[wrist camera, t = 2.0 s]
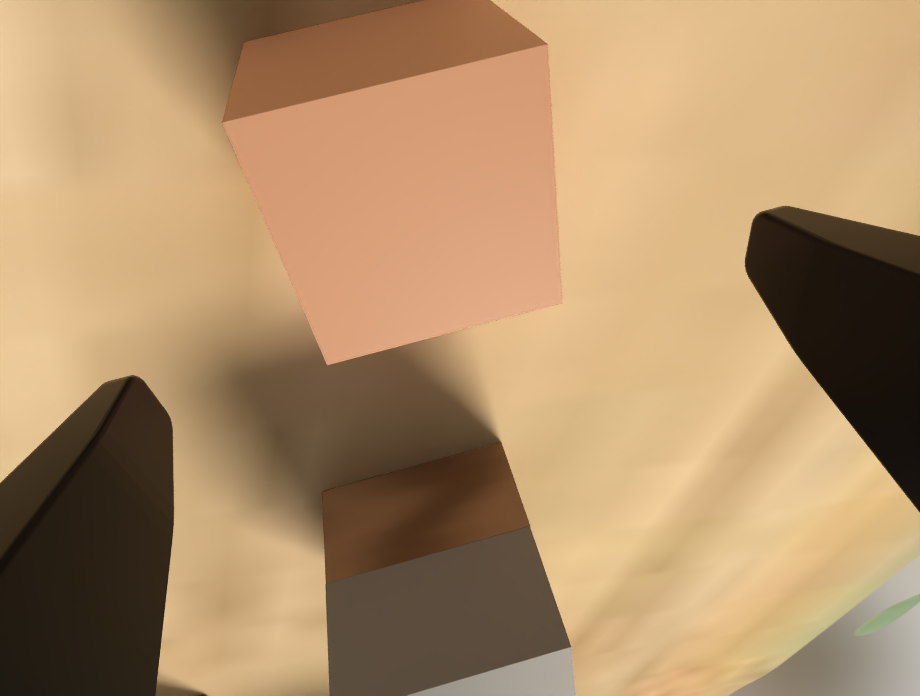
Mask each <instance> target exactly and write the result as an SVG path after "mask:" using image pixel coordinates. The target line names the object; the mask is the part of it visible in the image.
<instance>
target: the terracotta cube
mask: <svg viewBox="0 0 920 696" xmlns="http://www.w3.org/2000/svg"><path fill="white" fill-rule="evenodd" d="M222 124H223V126H224V128H225V131H226V133H227V135H228V138H229V140H230V142H231V144H232V147H233V149H234V151H235V154H236V156H237V158H238V161H239V163H240V165H241V168H242V170H243V172H244V174H245V177H246V179H247V181H248V184H249V186H250V188H251V191H252V193H253V195H254V198H255V200H256V202H257V204H258V207H259V209H260V211H261V214H262V216H263V218H264V221H265V223H266V225H267V228H268V230H269V232H270V234H271V237H272V239H273V241H274V244H275V246H276V248H277V251H278V253H279V255H280V258H281V260H282V262H283V264H284V267H285V269H286V271H287V274H288V276H289V278H290V281H291V283H292V285H293V288H294V290H295V292H296V295H297V297H298V299H299V301H300V304H301V306H302V308H303V311H304V313H305V315H306V318H307V320H308V322H309V325H310V327H311V329H312V331H313V334H314V336H315V338H316V341H317V343H318V345H319V348H320V350H321V352H322V355H323V357H324V359H325V361H326V364H327V365H330V364H334V363H338V362H342V361H346V360H349V359H353V358H357V357H361V356H364V355H368V354H372V353H376V352H379V351H383V350H387V349H391V348H395V347H398V346H402V345H406V344H410V343H413V342H417V341H421V340H425V339H429V338H432V337H436V336H440V335H444V334H447V333H451V332H455V331H459V330H462V329H466V328H470V327H474V326H478V325H481V324H485V323H489V322H493V321H496V320H500V319H504V318H508V317H512V316H515V315H519V314H523V313H527V312H530V311H534V310H538V309H542V308H546V307H549V306H553V305H557V304H561V303H563V302H562V285H561V268H560V250H559V233H558V215H557V198H556V180H555V163H554V145H553V128H552V110H551V93H550V75H549V58H548V44H547V43H546V42H544V41H543V40H542V39H540V38H539V37H538V36H536V35H535V34H534V33H532V32H531V31H530V30H529V29H527V28H526V27H525V26H523V25H522V24H521V23H519V22H518V21H517V20H515V19H514V18H513V17H511V16H510V15H509V14H508V13H506V12H505V11H504V10H502V9H501V8H500V7H498V6H497V5H496V4H494V3H493V2H492V1H490V0H422V1H418V2H413V3H409V4H405V5H401V6H396V7H392V8H388V9H383V10H379V11H375V12H371V13H366V14H362V15H358V16H354V17H349V18H345V19H341V20H336V21H332V22H328V23H324V24H319V25H315V26H311V27H307V28H302V29H298V30H294V31H289V32H285V33H281V34H277V35H272V36H268V37H264V38H260V39H255V40H251V41H247V42H244V45H243V48H242V52H241V56H240V59H239V63H238V66H237V70H236V74H235V77H234V81H233V85H232V88H231V92H230V95H229V99H228V103H227V106H226V110H225V114H224V117H223V121H222Z"/></svg>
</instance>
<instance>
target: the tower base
mask: <svg viewBox="0 0 920 696" xmlns="http://www.w3.org/2000/svg"><path fill="white" fill-rule="evenodd" d="M322 499H323V524H324V549H325V574H326V584H327V583H331V582H335V581H338V580H342V579H345V578H349V577H352V576H356V575H359V574H363V573H366V572H370V571H373V570H377V569H380V568H384V567H387V566H391V565H394V564H398V563H401V562H405V561H408V560H412V559H415V558H419V557H423V556H426V555H430V554H433V553H437V552H440V551H444V550H447V549H451V548H454V547H458V546H461V545H465V544H468V543H472V542H475V541H479V540H482V539H486V538H489V537H493V536H497V535H500V534H504V533H507V532H511V531H514V530H518V529H521V528H525V527H528V526H530V524H529V521H528V518H527V515H526V512H525V510H524V507H523V504H522V501H521V498H520V495H519V492H518V489H517V486H516V483H515V481H514V478H513V475H512V472H511V469H510V466H509V463H508V460H507V457H506V455H505V452H504V449H503V446H502V443H501V442H499V443H496V444H492V445H489V446H485V447H481V448H478V449H474V450H470V451H467V452H463V453H460V454H456V455H452V456H449V457H445V458H442V459H438V460H434V461H431V462H427V463H424V464H420V465H416V466H413V467H409V468H406V469H402V470H398V471H395V472H391V473H388V474H384V475H380V476H377V477H373V478H370V479H366V480H362V481H359V482H355V483H351V484H348V485H344V486H341V487H337V488H333V489H330V490H326V491H323V492H322ZM530 529H531V528H530Z"/></svg>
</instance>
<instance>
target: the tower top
mask: <svg viewBox="0 0 920 696" xmlns="http://www.w3.org/2000/svg"><path fill="white" fill-rule="evenodd" d="M326 610H327V636H328V661H329V687H330V696H575V684H574V673H573V662H572V650H571V645H570V642H569V639H568V636H567V633H566V630H565V627H564V625H563V622H562V619H561V616H560V613H559V610H558V607H557V604H556V601H555V598H554V595H553V593H552V590H551V587H550V584H549V581H548V578H547V575H546V572H545V569H544V566H543V563H542V561H541V558H540V555H539V552H538V549H537V546H536V543H535V540H534V537H533V534H532V532H531V529H530V526H528V527H525V528H521V529H518V530H514V531H511V532H507V533H504V534H500V535H497V536H493V537H489V538H486V539H482V540H479V541H475V542H472V543H468V544H465V545H461V546H458V547H454V548H451V549H447V550H444V551H440V552H437V553H433V554H430V555H426V556H423V557H419V558H415V559H412V560H408V561H405V562H401V563H398V564H394V565H391V566H387V567H384V568H380V569H377V570H373V571H370V572H366V573H363V574H359V575H356V576H352V577H349V578H345V579H342V580H338V581H335V582H331V583H327V584H326Z"/></svg>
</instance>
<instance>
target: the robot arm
mask: <svg viewBox="0 0 920 696" xmlns="http://www.w3.org/2000/svg"><path fill="white" fill-rule="evenodd" d="M745 268H746V272H747V275H748V277H749V279H750V280H751V282H752V284H753V285H754V287H755V289H756V290H757V292H758V293H759V295H760V297H761V298H762V300H763V302H764V303H765V305H766V307H767V308H768V310H769V311H770V313H771V315H772V316H773V318H774V320H775V321H776V323H777V325H778V326H779V328H780V329H781V331H782V333H783V334H784V336H785V338H786V339H787V341H788V342H789V344H790V345H791V347H792V348H793V350H794V352H795V353H796V354H797V356H798V357H799V359H800V360H801V361H802V363H803V364H804V365H805V367H806V368H807V369H808V371H809V372H810V373H811V374H812V376H813V377H814V378H815V379H816V381H817V382H818V383H819V385H820V386H821V387H822V388H823V390H824V391H825V392H826V394H827V395H828V396H829V397H830V399H831V400H832V401H833V402H834V404H835V405H836V406H837V408H838V409H839V410H840V411H841V413H842V414H843V415H844V416H845V418H846V419H847V420H848V422H849V423H850V424H851V425H852V427H853V428H854V429H855V431H856V432H857V433H858V434H859V436H860V437H861V438H862V439H863V441H864V442H865V443H866V445H867V446H868V447H869V448H870V450H871V451H872V452H873V454H874V455H875V456H876V457H877V459H878V460H879V461H880V462H881V464H882V465H883V466H884V468H885V469H886V470H887V471H888V473H889V474H890V475H891V476H892V478H893V479H894V480H895V482H896V483H897V484H898V485H899V487H900V488H901V489H902V491H903V492H904V493H905V494H906V496H907V497H908V498H909V499H910V501H911V502H912V503H913V505H914V506H915V507H916V508H917V510H918V511H919V512H920V236H917V235H913V234H909V233H904V232H900V231H896V230H891V229H887V228H882V227H878V226H874V225H869V224H865V223H861V222H856V221H852V220H847V219H843V218H839V217H834V216H830V215H826V214H821V213H817V212H813V211H808V210H804V209H799V208H795V207H791V206H781V207H777V208H773V209H769V210H766V211H762V212H760V213H758V214H757V215H756V216H755V218H754V219H753V222H752V226H751V231H750V236H749V241H748V247H747V252H746V257H745ZM173 525H174V482H173V428H172V422H171V419H170V417H169V415H168V413H167V411H166V410H165V409H164V407H163V406H162V405H161V403H160V402H159V401H158V399H157V398H156V397H155V395H154V394H153V392H152V391H151V390H150V388H149V387H148V386H147V384H146V383H145V382H144V381H143V380H142V379H141V378H140V377H138V376H134V375H130V376H127V377H123V378H119V379H115V380H111V381H108V382H106V383H104V384H102V385H101V386H100V387H99V388H98V389H97V390H96V391H95V392H94V393H93V394H92V395H91V396H90V397H89V398H88V399H87V400H86V401H85V402H84V403H83V404H82V405H81V406H80V407H78V408H77V409H76V410H75V411H74V412H73V413H72V414H71V415H70V416H69V417H68V418H67V419H66V420H65V421H64V422H63V423H62V424H61V425H60V426H59V427H58V428H57V429H56V430H55V431H54V432H53V433H52V434H51V435H50V436H48V437H47V438H46V439H45V440H44V441H43V442H42V443H41V444H40V445H39V446H38V447H37V448H36V449H35V450H34V451H33V452H32V453H31V454H30V455H29V456H28V457H27V458H26V459H25V460H24V461H23V462H22V463H21V464H20V465H18V466H17V467H16V468H15V469H14V470H13V471H12V472H11V473H10V474H9V475H8V476H7V477H6V478H5V479H4V480H3V481H2V482H1V483H0V696H155V693H156V684H157V675H158V666H159V657H160V648H161V638H162V629H163V620H164V611H165V602H166V593H167V583H168V574H169V565H170V556H171V547H172V537H173Z"/></svg>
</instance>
